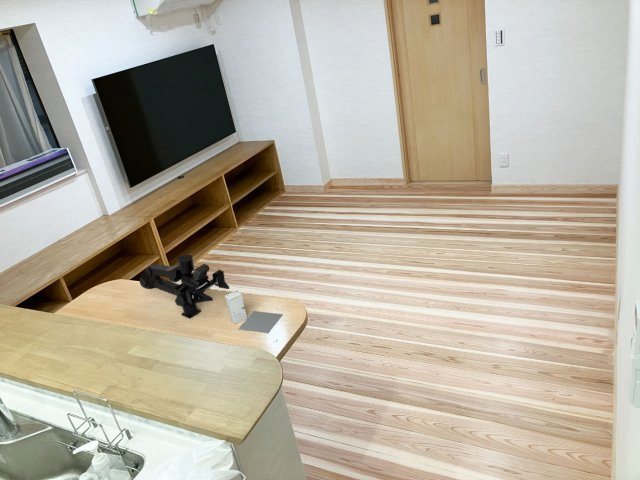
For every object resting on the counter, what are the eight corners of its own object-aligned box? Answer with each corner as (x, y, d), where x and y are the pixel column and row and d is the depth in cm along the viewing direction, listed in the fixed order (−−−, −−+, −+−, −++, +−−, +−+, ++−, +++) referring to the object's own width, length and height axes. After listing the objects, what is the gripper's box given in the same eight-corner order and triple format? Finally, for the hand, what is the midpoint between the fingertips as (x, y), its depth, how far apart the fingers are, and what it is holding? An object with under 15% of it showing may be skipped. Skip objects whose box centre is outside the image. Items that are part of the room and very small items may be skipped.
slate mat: (238, 329, 211) (238, 328, 211) (254, 311, 221) (254, 310, 221) (268, 333, 205) (267, 332, 205) (282, 314, 215) (282, 314, 215)
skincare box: (235, 324, 214) (228, 299, 209) (230, 320, 218) (223, 295, 213) (248, 318, 217) (241, 293, 212) (243, 314, 221) (237, 289, 215)
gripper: (173, 275, 204) (200, 288, 196) (207, 254, 217) (235, 265, 209) (177, 298, 210) (204, 312, 202) (211, 276, 223) (237, 288, 215)
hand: (220, 293), depth 207 cm, fingers open, 9 cm apart
